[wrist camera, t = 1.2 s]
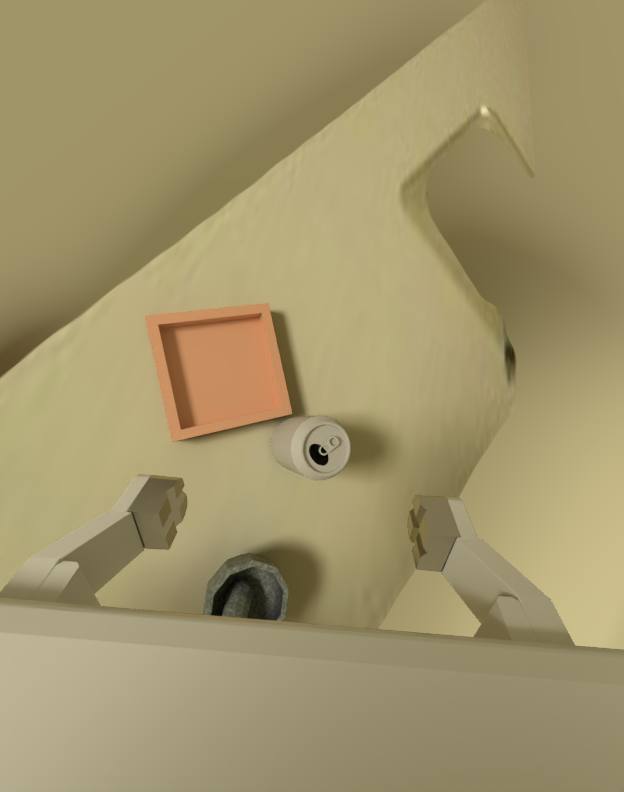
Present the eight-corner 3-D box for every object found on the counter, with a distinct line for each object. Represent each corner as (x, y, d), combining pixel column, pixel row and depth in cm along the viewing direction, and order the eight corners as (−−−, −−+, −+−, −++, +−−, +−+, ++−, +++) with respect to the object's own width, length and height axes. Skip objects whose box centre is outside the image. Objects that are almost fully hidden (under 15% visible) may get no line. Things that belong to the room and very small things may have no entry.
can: (258, 441, 47) (281, 447, 36) (296, 406, 49) (329, 401, 38) (292, 480, 48) (325, 497, 37) (328, 443, 51) (368, 449, 39)
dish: (173, 440, 43) (172, 441, 40) (147, 322, 43) (145, 315, 40) (286, 414, 49) (292, 413, 46) (263, 310, 49) (268, 303, 46)
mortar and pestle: (238, 526, 45) (256, 560, 34) (288, 567, 47) (320, 612, 36) (176, 601, 42) (173, 667, 31) (232, 642, 44) (248, 717, 33)
